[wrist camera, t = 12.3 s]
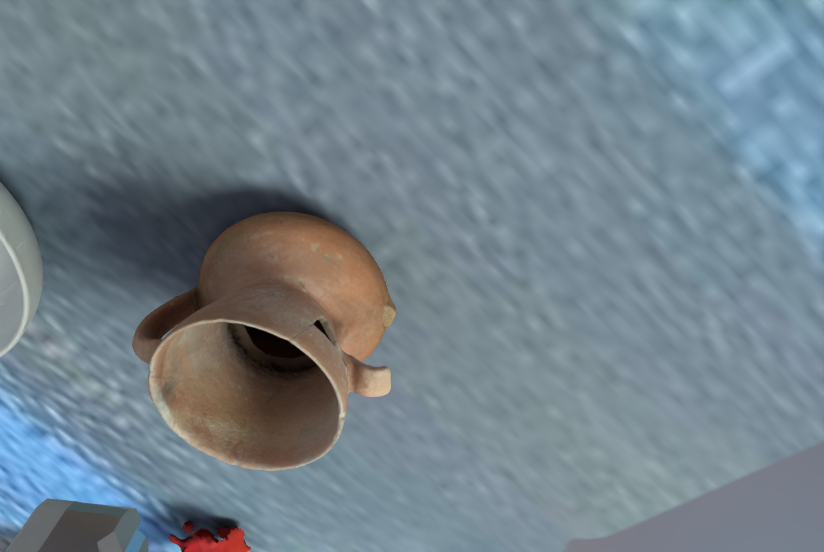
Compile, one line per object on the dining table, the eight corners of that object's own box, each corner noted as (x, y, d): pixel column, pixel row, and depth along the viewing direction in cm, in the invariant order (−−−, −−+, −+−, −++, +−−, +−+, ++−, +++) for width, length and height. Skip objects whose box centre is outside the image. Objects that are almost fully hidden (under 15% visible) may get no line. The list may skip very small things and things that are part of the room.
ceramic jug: (418, 211, 45) (392, 330, 34) (402, 362, 53) (375, 502, 41) (178, 179, 46) (68, 283, 34) (196, 332, 54) (112, 461, 42)
